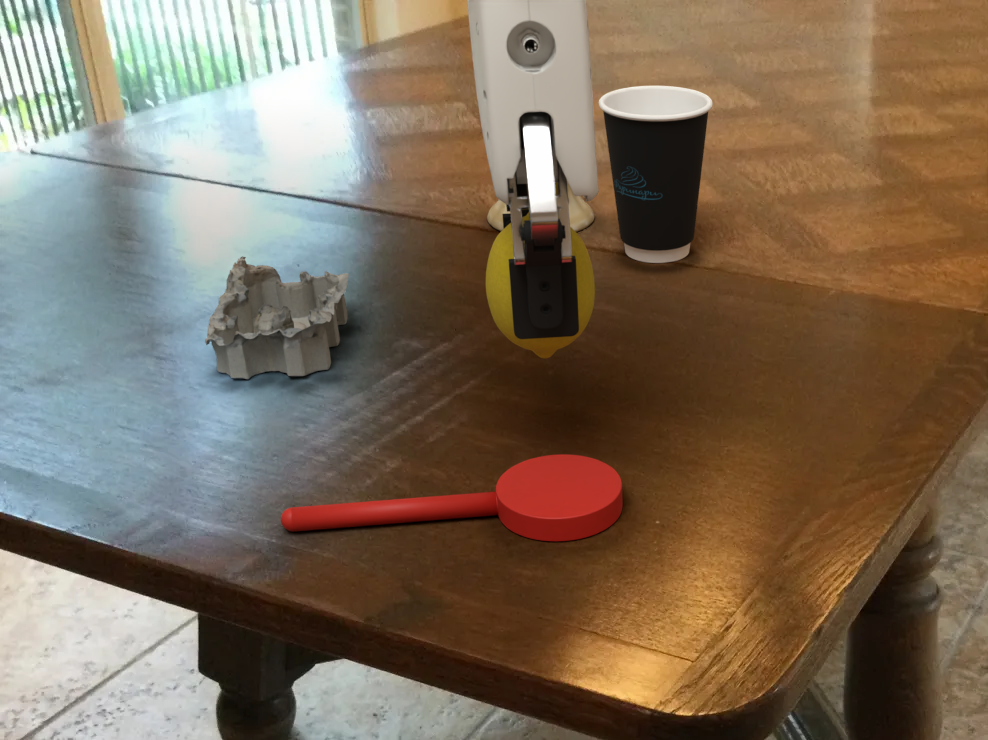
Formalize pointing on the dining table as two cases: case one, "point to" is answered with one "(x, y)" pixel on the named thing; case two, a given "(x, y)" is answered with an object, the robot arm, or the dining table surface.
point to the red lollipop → (498, 502)
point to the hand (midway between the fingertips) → (542, 306)
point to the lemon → (501, 292)
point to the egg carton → (276, 322)
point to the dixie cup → (656, 166)
